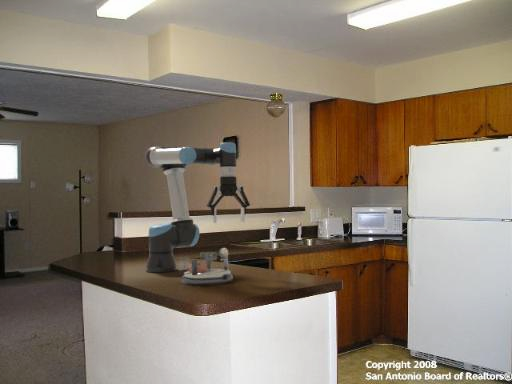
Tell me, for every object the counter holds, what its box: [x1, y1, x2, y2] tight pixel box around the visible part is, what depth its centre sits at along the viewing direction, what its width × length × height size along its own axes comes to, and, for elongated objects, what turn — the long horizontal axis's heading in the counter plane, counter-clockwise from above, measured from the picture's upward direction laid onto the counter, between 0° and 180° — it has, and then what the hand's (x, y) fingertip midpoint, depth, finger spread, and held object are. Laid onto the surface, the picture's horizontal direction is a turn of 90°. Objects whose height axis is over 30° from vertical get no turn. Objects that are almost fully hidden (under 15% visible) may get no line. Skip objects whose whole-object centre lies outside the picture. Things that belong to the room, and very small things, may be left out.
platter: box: [183, 258, 231, 279], centre depth 221 cm, size 22×20×8 cm
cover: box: [188, 260, 207, 273], centre depth 224 cm, size 8×8×4 cm
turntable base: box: [181, 273, 234, 286], centre depth 221 cm, size 22×22×2 cm
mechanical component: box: [199, 251, 218, 269], centre depth 243 cm, size 3×10×10 cm, turn 51°
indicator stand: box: [218, 247, 229, 270], centre depth 231 cm, size 5×6×13 cm
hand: (228, 222), depth 236 cm, fingers open, 13 cm apart
